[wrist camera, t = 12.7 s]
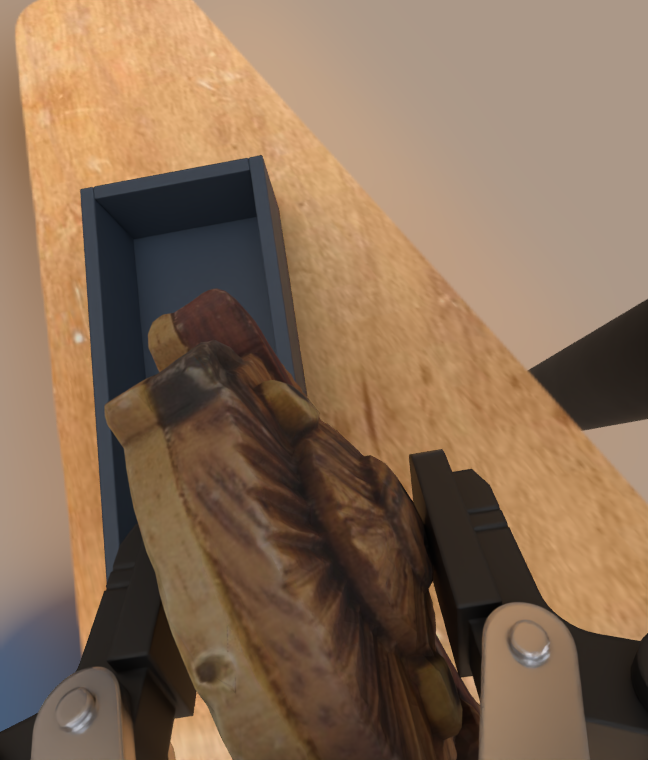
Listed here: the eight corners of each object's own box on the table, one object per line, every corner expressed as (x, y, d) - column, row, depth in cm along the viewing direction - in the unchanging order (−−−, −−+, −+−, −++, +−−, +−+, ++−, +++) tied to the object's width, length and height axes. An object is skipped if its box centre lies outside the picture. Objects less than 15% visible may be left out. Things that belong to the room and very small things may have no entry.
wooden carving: (548, 730, 15) (908, 1155, 6) (431, 824, 15) (599, 1461, 5) (262, 321, 19) (174, 137, 9) (158, 389, 18) (-55, 277, 8)
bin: (278, 208, 33) (262, 154, 28) (328, 538, 29) (321, 554, 23) (126, 236, 34) (79, 188, 28) (154, 564, 30) (106, 587, 24)
